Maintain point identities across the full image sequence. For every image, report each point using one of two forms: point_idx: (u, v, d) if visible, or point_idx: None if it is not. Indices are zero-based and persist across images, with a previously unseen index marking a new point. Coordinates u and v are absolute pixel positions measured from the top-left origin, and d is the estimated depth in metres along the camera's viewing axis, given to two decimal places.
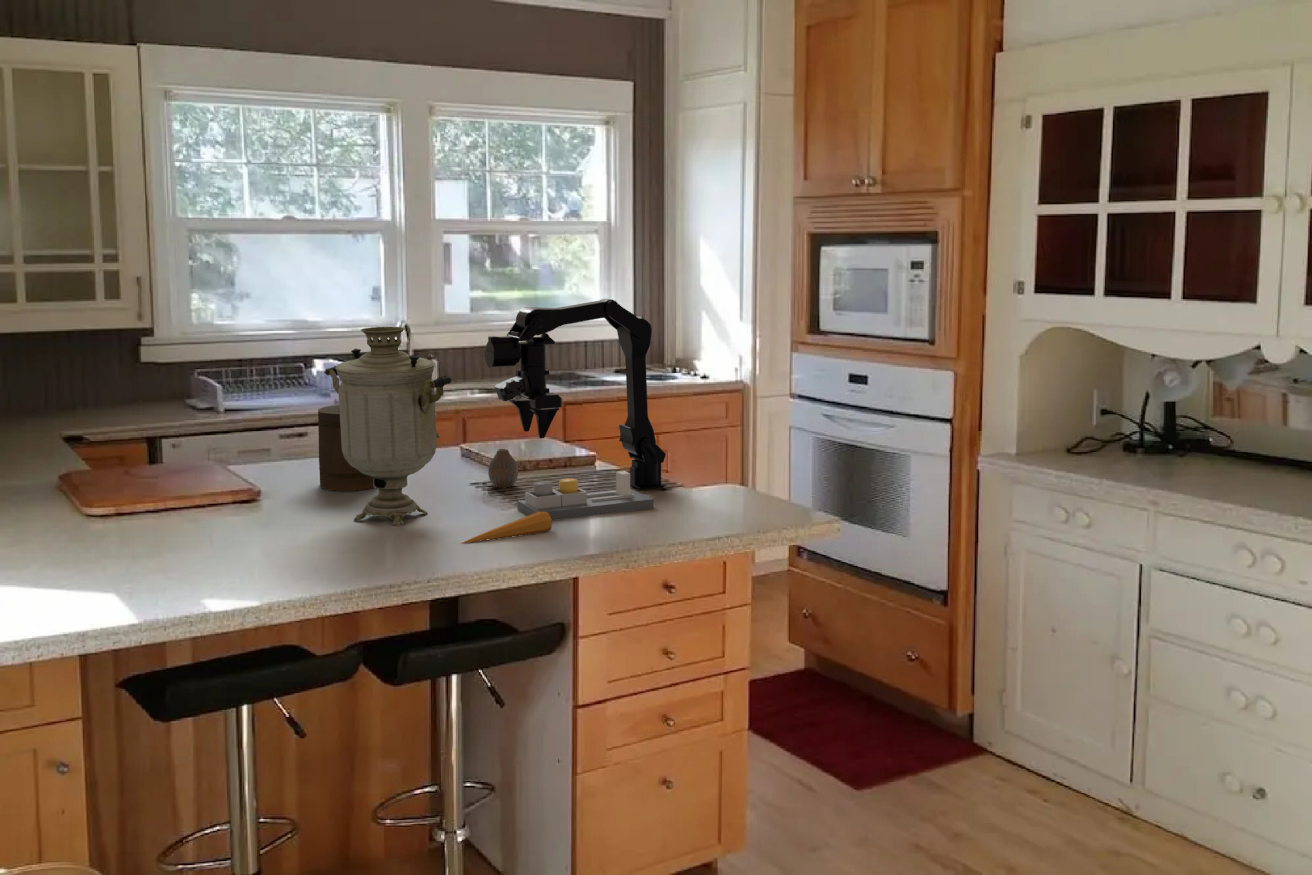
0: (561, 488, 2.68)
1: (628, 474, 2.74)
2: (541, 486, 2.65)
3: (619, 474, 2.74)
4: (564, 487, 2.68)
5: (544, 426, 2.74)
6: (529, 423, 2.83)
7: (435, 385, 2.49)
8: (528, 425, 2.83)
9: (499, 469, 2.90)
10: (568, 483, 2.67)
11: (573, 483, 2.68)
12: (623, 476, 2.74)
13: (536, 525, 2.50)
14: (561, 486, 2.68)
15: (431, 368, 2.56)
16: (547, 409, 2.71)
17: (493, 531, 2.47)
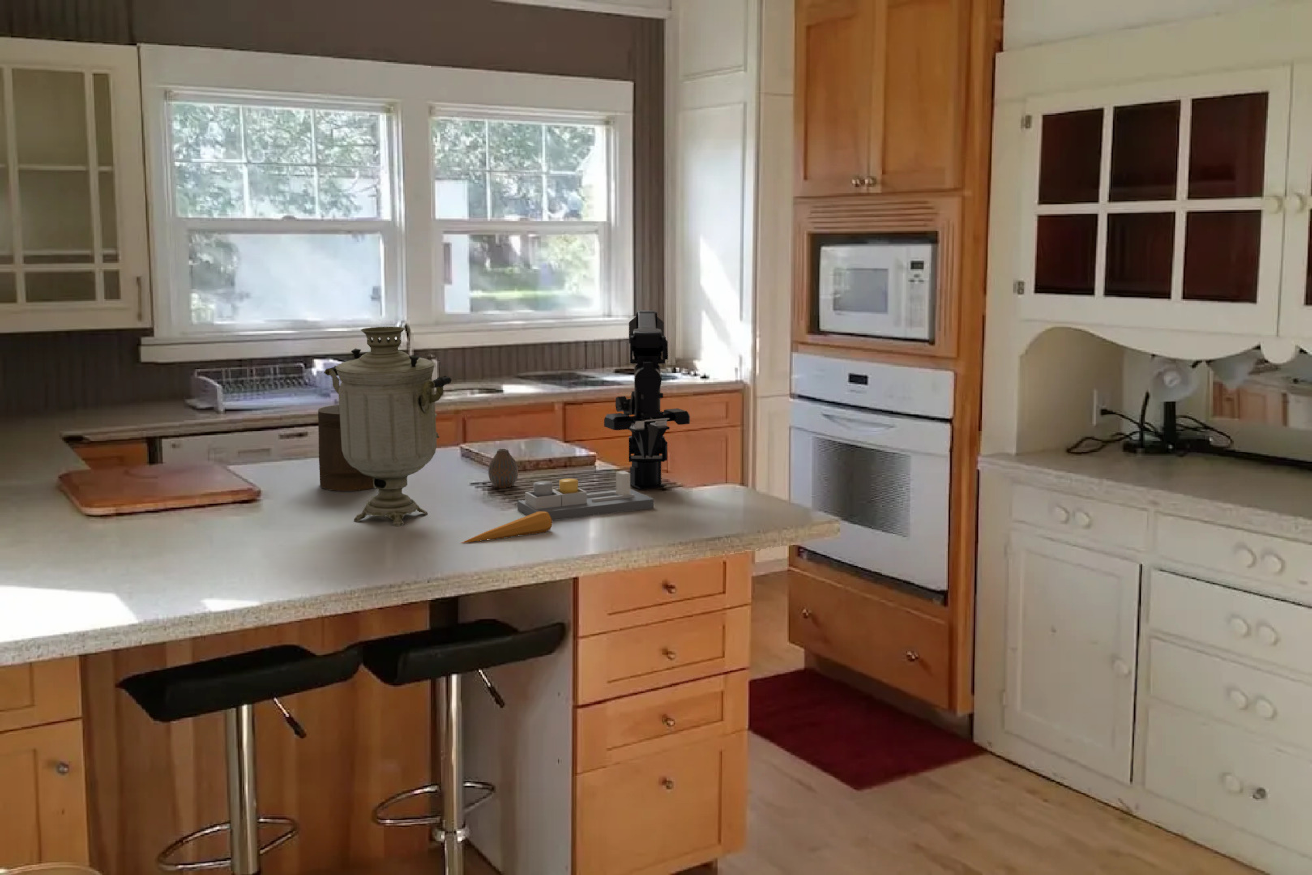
0: (561, 488, 2.68)
1: (628, 474, 2.74)
2: (541, 486, 2.65)
3: (619, 474, 2.74)
4: (564, 487, 2.68)
5: (640, 446, 2.76)
6: (652, 450, 2.77)
7: (435, 385, 2.49)
8: (650, 451, 2.77)
9: (499, 469, 2.90)
10: (568, 483, 2.67)
11: (573, 483, 2.68)
12: (623, 476, 2.74)
13: (535, 525, 2.50)
14: (561, 486, 2.68)
15: (431, 368, 2.56)
16: (630, 428, 2.74)
17: (493, 531, 2.47)
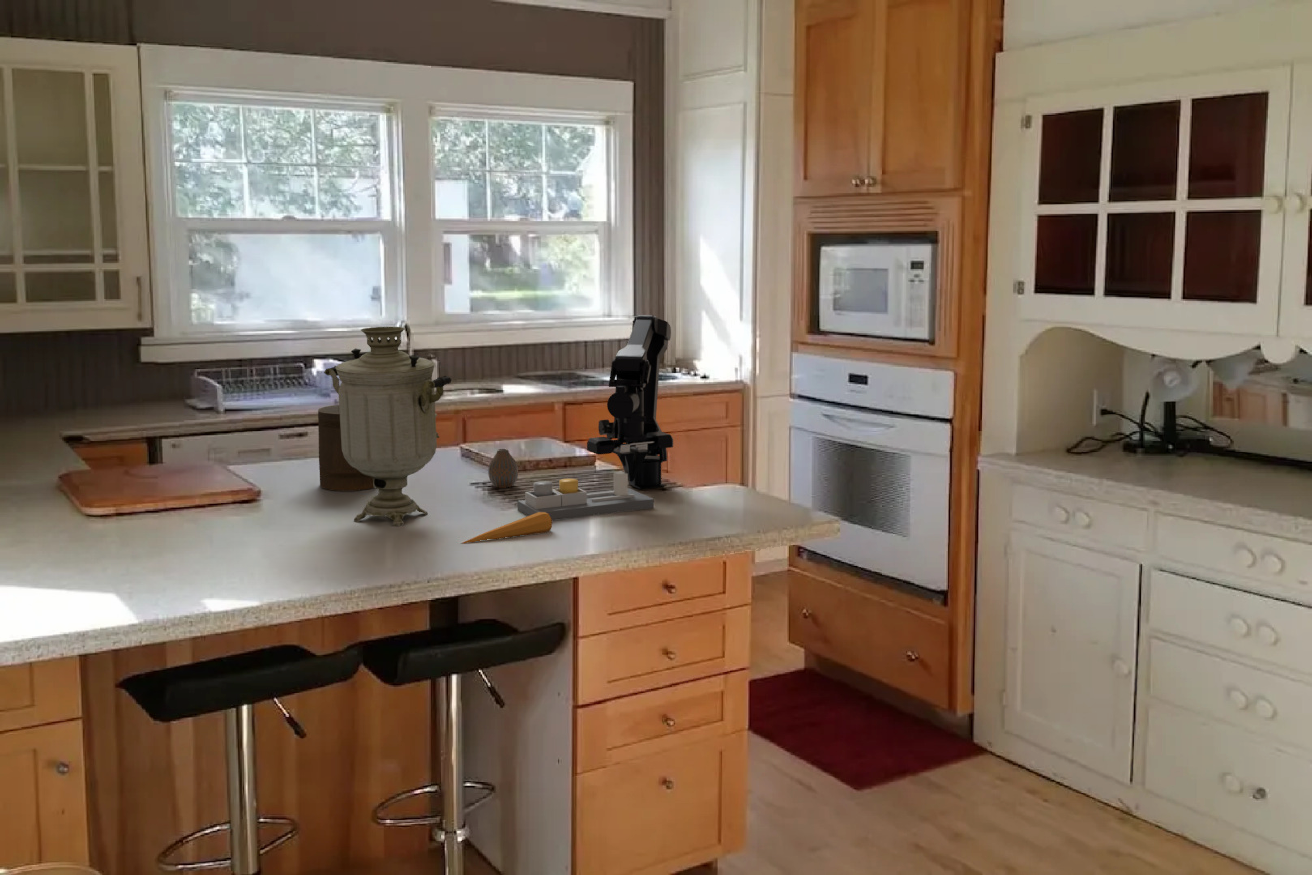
0: (561, 488, 2.68)
1: (626, 474, 2.74)
2: (541, 486, 2.65)
3: (617, 474, 2.74)
4: (564, 487, 2.68)
5: (626, 469, 2.75)
6: (632, 473, 2.75)
7: (435, 385, 2.49)
8: None
9: (499, 469, 2.90)
10: (568, 483, 2.67)
11: (573, 483, 2.68)
12: (620, 476, 2.73)
13: (535, 525, 2.50)
14: (561, 486, 2.68)
15: (431, 368, 2.56)
16: (615, 452, 2.73)
17: (493, 531, 2.47)
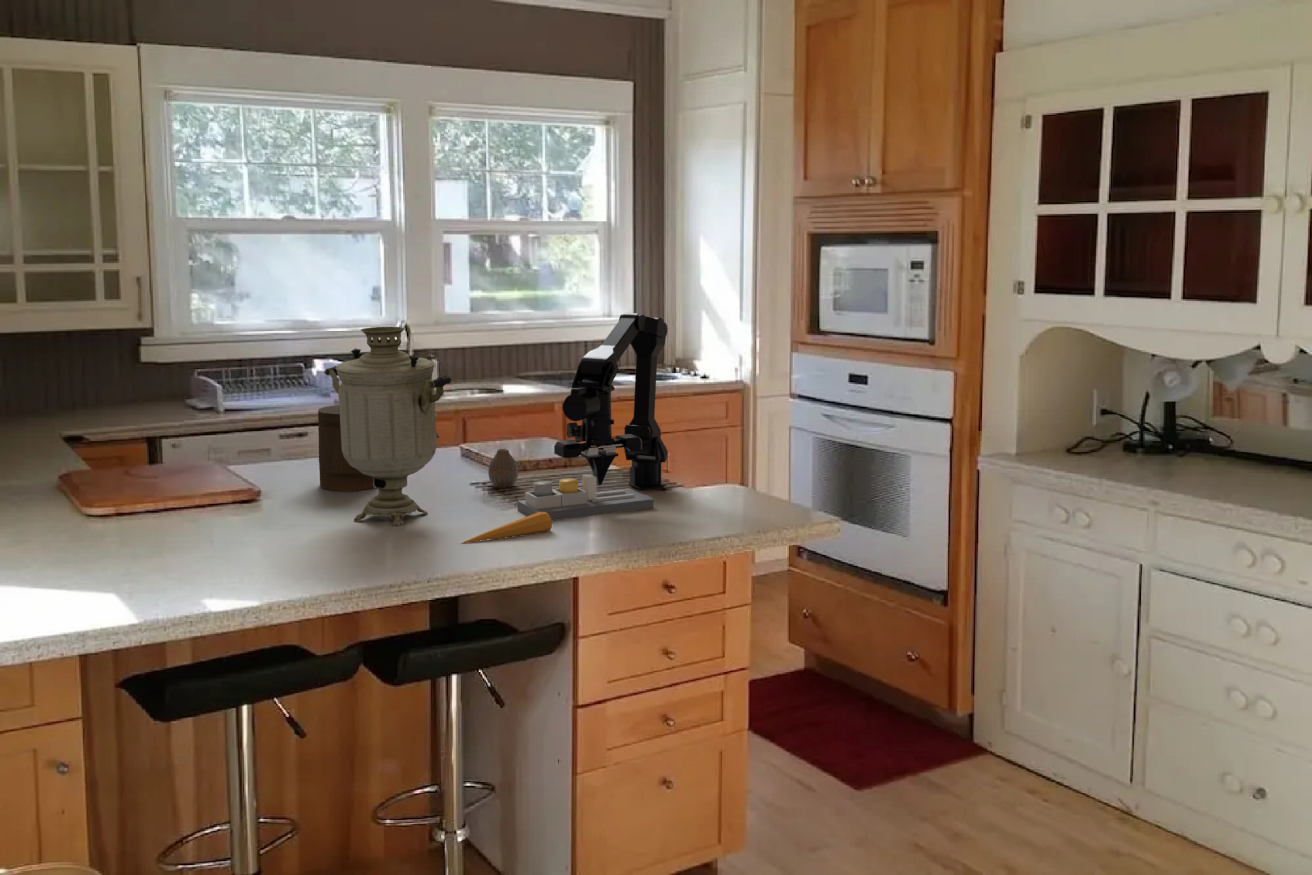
0: (561, 488, 2.68)
1: (594, 478, 2.70)
2: (541, 486, 2.65)
3: (585, 478, 2.71)
4: (564, 487, 2.68)
5: (594, 473, 2.72)
6: (601, 477, 2.72)
7: (435, 385, 2.49)
8: None
9: (499, 469, 2.90)
10: (568, 483, 2.67)
11: (573, 483, 2.68)
12: (589, 480, 2.70)
13: (535, 525, 2.50)
14: (561, 486, 2.68)
15: (431, 368, 2.56)
16: (584, 455, 2.70)
17: (493, 531, 2.47)
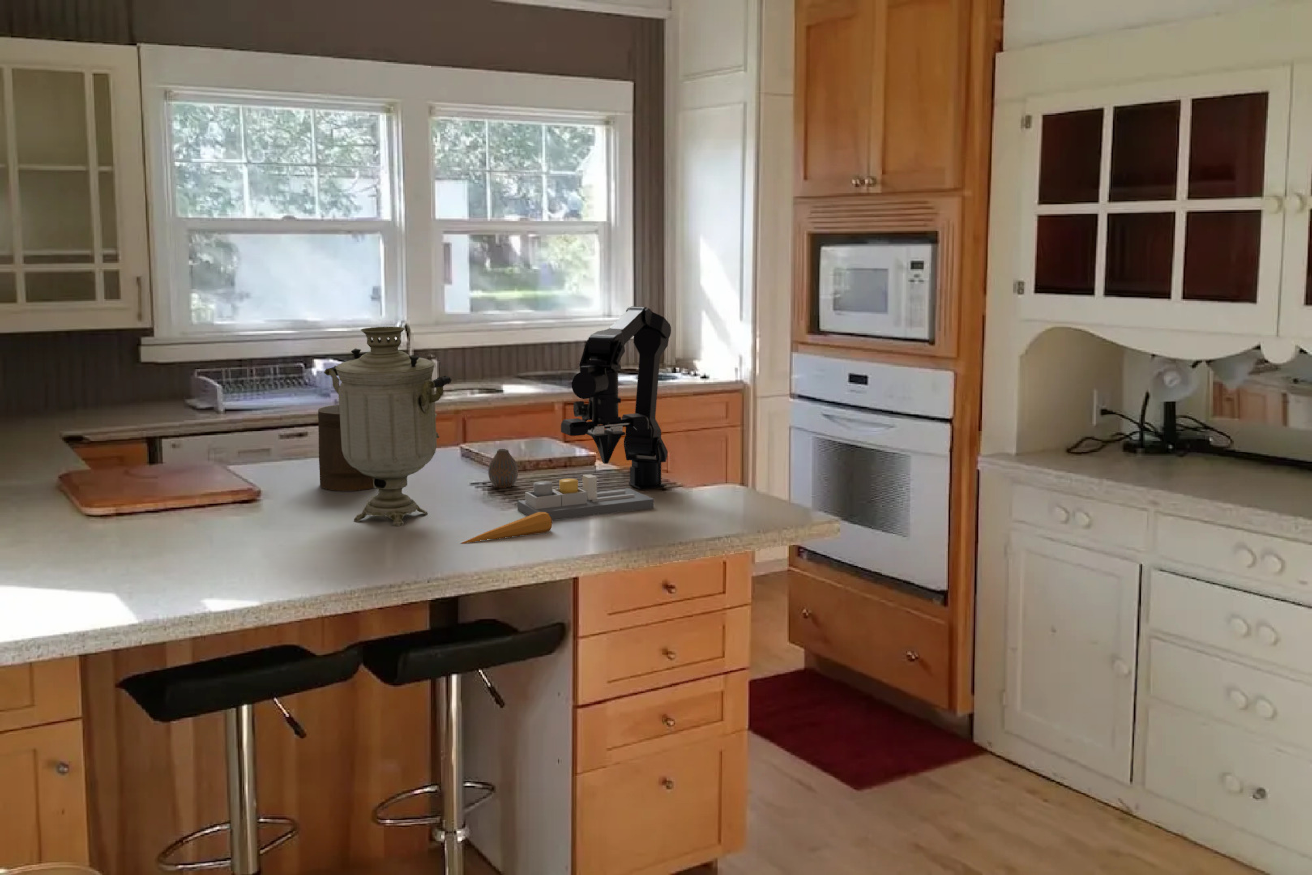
0: (561, 488, 2.68)
1: (595, 478, 2.70)
2: (541, 486, 2.65)
3: (586, 478, 2.71)
4: (564, 487, 2.68)
5: (600, 451, 2.71)
6: (607, 456, 2.72)
7: (435, 385, 2.49)
8: None
9: (499, 469, 2.90)
10: (568, 483, 2.67)
11: (573, 483, 2.68)
12: (589, 480, 2.70)
13: (535, 525, 2.50)
14: (561, 486, 2.68)
15: (431, 368, 2.56)
16: (590, 433, 2.70)
17: (493, 531, 2.47)
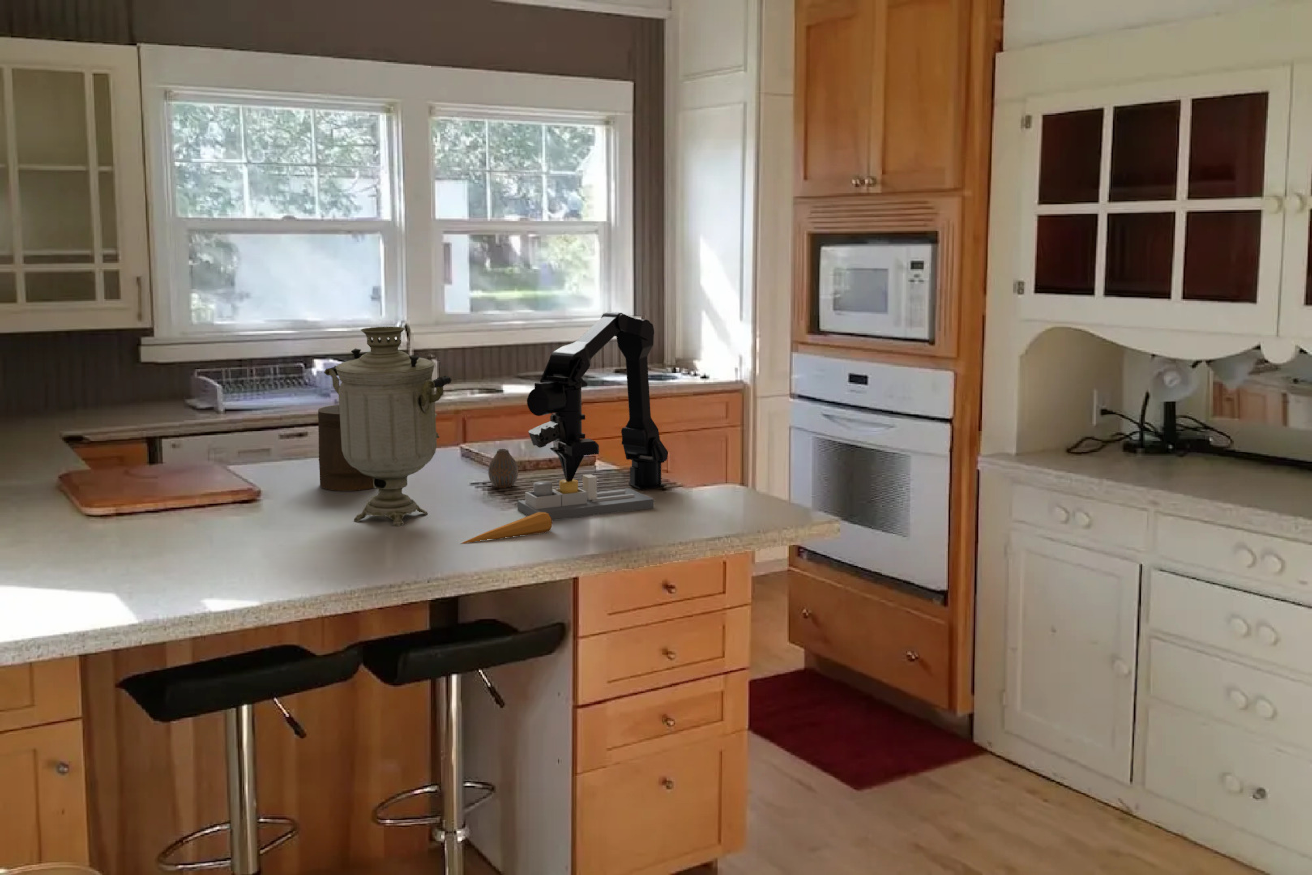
0: (561, 489, 2.68)
1: (595, 478, 2.70)
2: (541, 486, 2.65)
3: (586, 478, 2.71)
4: (564, 487, 2.68)
5: (572, 469, 2.68)
6: None
7: (435, 385, 2.49)
8: None
9: (499, 469, 2.90)
10: (568, 484, 2.67)
11: (573, 484, 2.68)
12: (589, 480, 2.70)
13: (535, 525, 2.50)
14: (561, 487, 2.68)
15: (431, 368, 2.56)
16: None
17: (493, 531, 2.47)
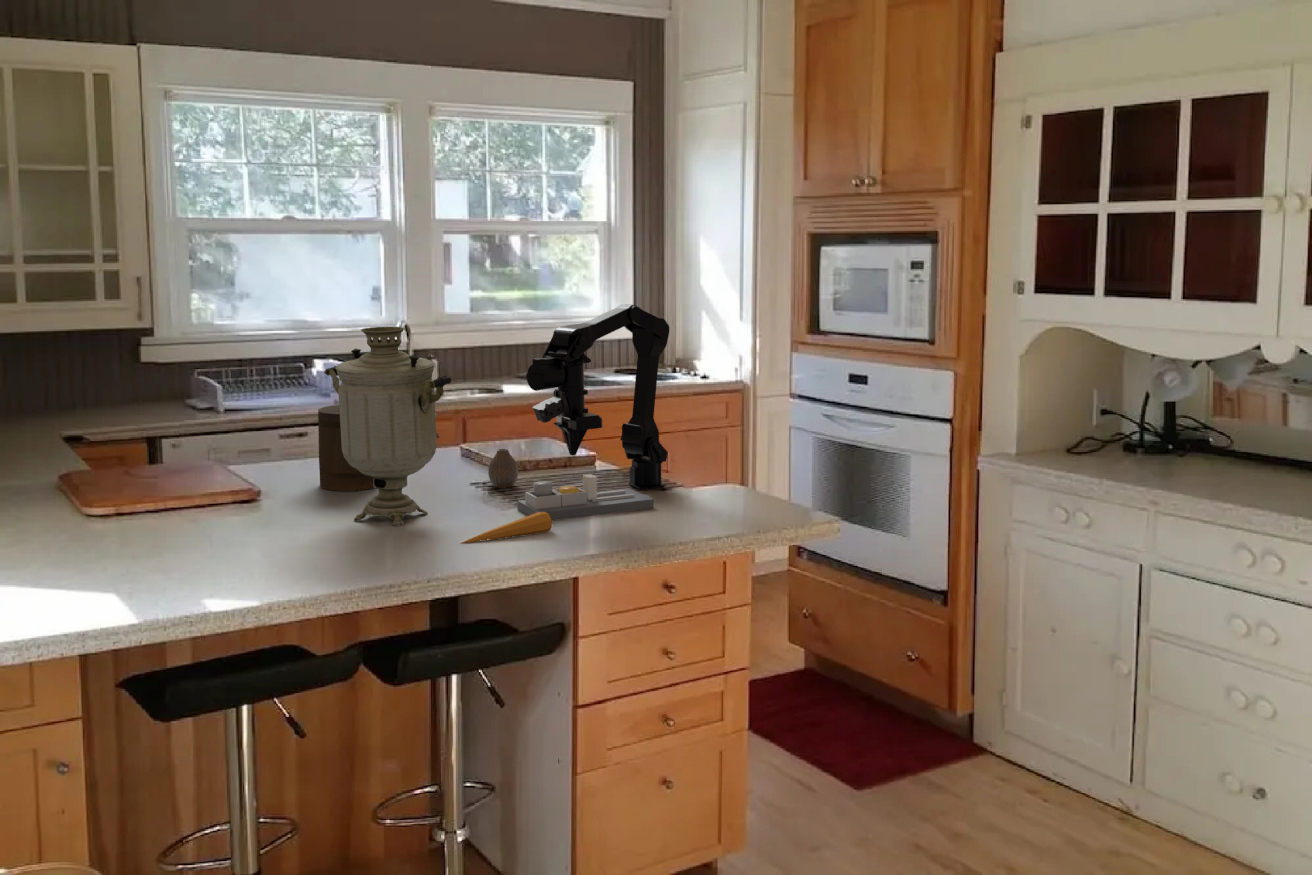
0: None
1: (595, 478, 2.70)
2: (541, 486, 2.65)
3: (586, 478, 2.71)
4: None
5: (575, 443, 2.75)
6: None
7: (435, 385, 2.49)
8: None
9: (499, 469, 2.90)
10: (568, 490, 2.68)
11: (573, 490, 2.68)
12: (589, 480, 2.70)
13: (535, 525, 2.50)
14: None
15: (431, 368, 2.56)
16: None
17: (493, 531, 2.47)
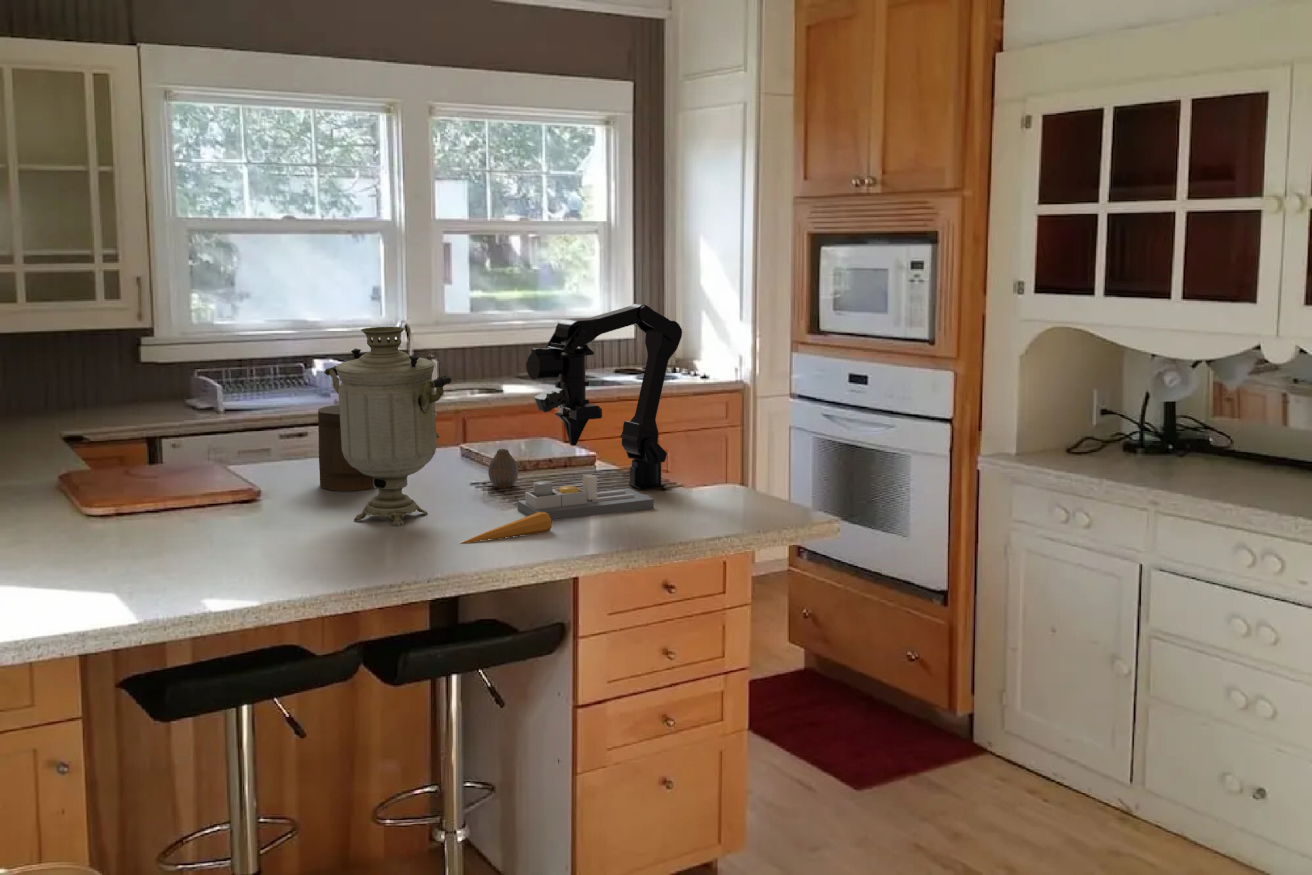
0: None
1: (595, 478, 2.70)
2: (541, 486, 2.65)
3: (586, 478, 2.71)
4: None
5: (576, 434, 2.79)
6: None
7: (435, 385, 2.49)
8: None
9: (499, 469, 2.90)
10: (568, 490, 2.68)
11: (573, 490, 2.68)
12: (589, 480, 2.70)
13: (535, 525, 2.50)
14: None
15: (431, 368, 2.56)
16: None
17: (492, 531, 2.47)
